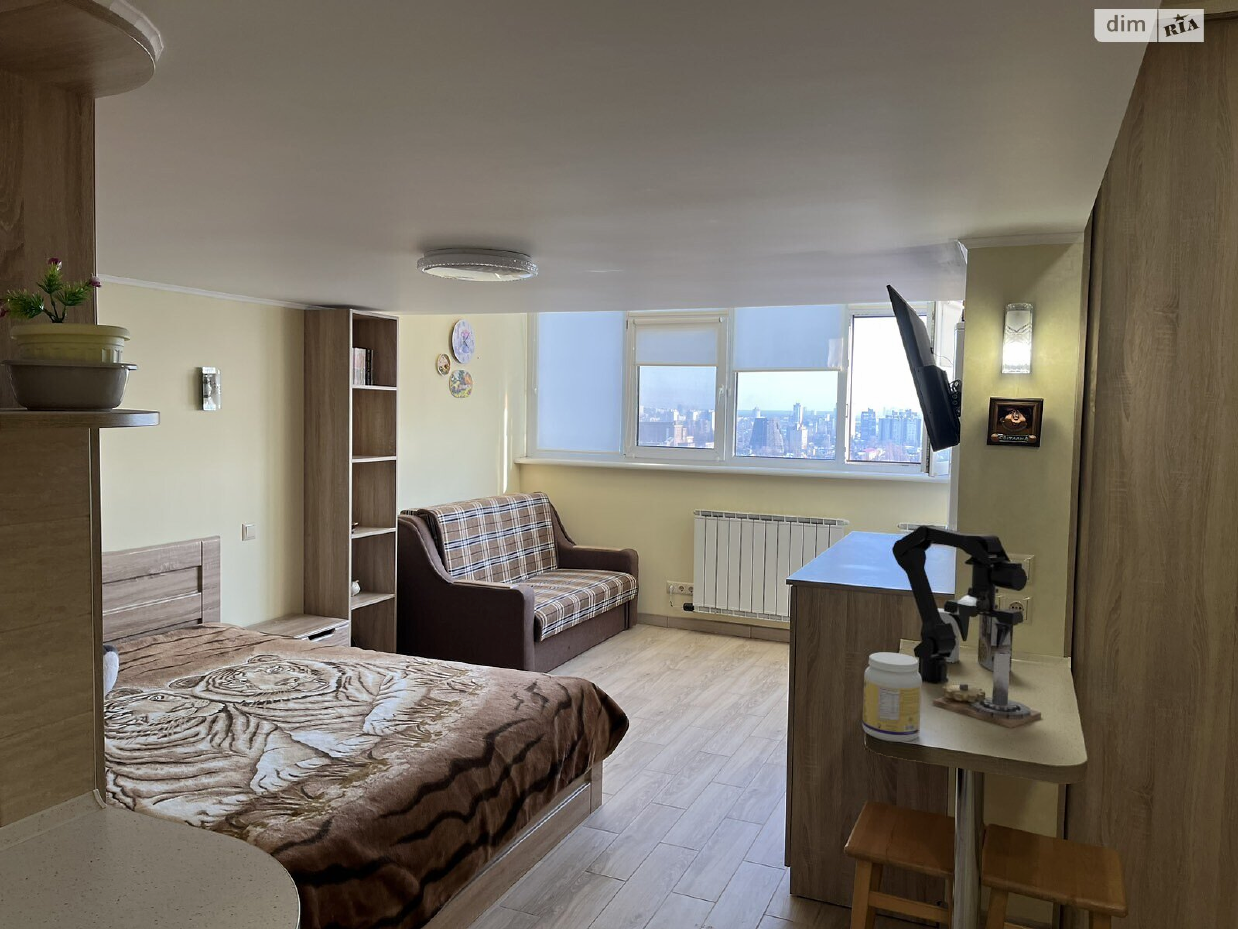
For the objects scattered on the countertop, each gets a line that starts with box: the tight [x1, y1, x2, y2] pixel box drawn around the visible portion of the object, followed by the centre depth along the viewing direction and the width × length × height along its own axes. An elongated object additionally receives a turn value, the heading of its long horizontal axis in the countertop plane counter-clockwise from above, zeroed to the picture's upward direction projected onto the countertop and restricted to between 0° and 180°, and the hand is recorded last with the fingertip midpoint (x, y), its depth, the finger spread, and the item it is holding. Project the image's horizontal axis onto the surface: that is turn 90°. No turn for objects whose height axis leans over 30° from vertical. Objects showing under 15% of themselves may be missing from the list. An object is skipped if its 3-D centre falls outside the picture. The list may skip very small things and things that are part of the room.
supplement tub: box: [861, 651, 923, 743], centre depth 193 cm, size 12×12×17 cm
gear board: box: [932, 683, 1042, 729], centre depth 212 cm, size 21×14×5 cm, turn 37°
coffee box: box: [977, 608, 1014, 672], centre depth 252 cm, size 9×6×16 cm
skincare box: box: [937, 607, 960, 664], centre depth 259 cm, size 8×6×15 cm
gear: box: [983, 652, 1017, 712], centre depth 208 cm, size 7×7×14 cm
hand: (981, 645), depth 224 cm, fingers open, 9 cm apart
